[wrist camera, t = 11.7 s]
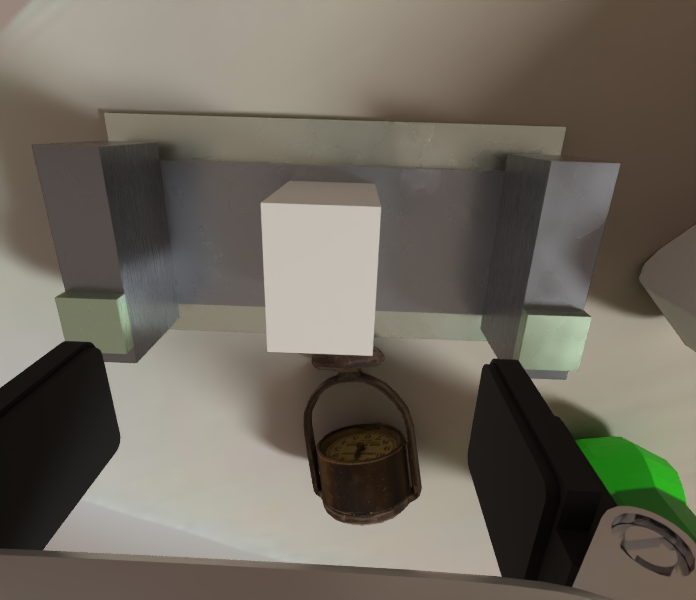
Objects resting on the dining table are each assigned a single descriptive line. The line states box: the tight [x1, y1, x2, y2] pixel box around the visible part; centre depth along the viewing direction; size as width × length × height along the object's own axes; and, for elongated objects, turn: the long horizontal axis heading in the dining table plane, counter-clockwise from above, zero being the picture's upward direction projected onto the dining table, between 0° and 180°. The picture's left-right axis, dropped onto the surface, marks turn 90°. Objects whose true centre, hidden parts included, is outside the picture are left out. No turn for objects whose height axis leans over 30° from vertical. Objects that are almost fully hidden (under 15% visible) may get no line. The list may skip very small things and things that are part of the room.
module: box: [261, 181, 381, 356], centre depth 23 cm, size 7×5×8 cm
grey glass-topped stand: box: [32, 113, 621, 380], centre depth 24 cm, size 14×27×9 cm, turn 88°
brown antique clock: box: [304, 346, 422, 525], centre depth 30 cm, size 7×13×10 cm
